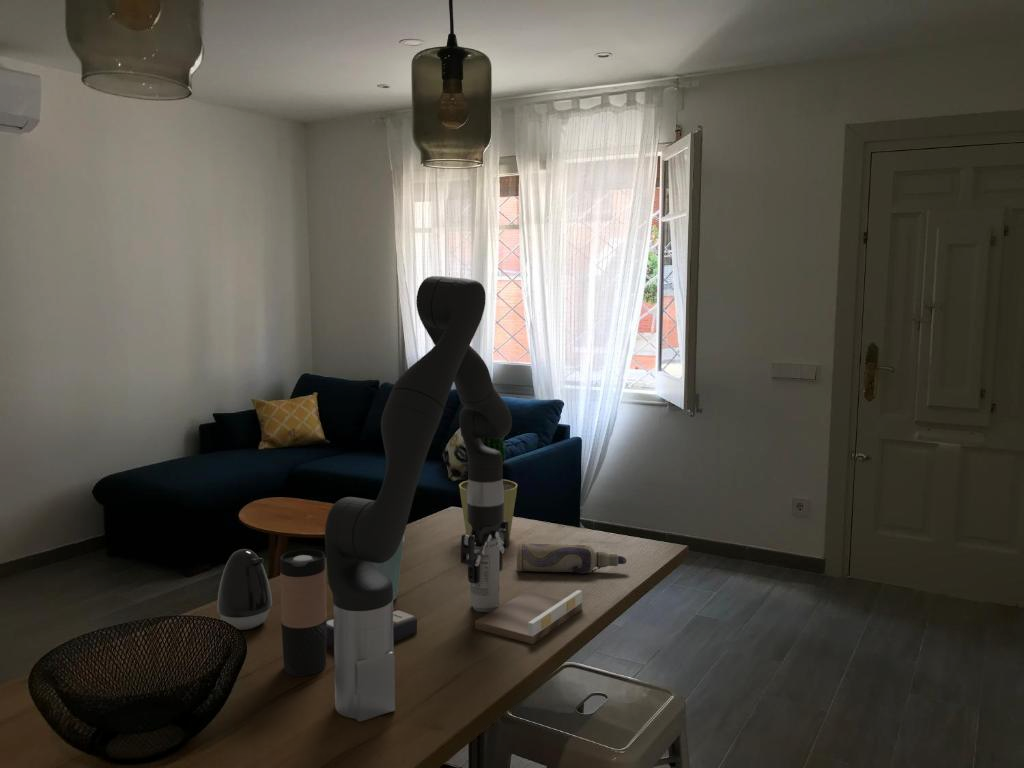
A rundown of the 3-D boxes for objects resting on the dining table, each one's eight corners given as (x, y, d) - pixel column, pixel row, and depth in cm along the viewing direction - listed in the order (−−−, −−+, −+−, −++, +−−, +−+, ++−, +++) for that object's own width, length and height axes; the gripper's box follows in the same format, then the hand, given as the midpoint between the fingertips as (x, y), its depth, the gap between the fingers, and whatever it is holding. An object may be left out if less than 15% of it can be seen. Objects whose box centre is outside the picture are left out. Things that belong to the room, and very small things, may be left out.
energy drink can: (505, 607, 170) (505, 537, 168) (483, 615, 166) (483, 543, 164) (486, 599, 174) (486, 531, 172) (464, 607, 170) (464, 537, 168)
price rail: (533, 636, 152) (533, 623, 152) (528, 635, 152) (528, 622, 152) (582, 602, 169) (583, 591, 168) (577, 601, 169) (577, 589, 169)
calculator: (418, 614, 157) (357, 635, 146) (417, 636, 157) (356, 659, 146) (380, 601, 164) (319, 620, 153) (379, 621, 164) (318, 642, 153)
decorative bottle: (515, 576, 189) (515, 548, 188) (517, 565, 196) (517, 538, 196) (627, 579, 187) (628, 550, 187) (625, 568, 195) (625, 541, 194)
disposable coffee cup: (395, 609, 168) (395, 539, 167) (346, 605, 170) (345, 535, 169) (412, 591, 179) (411, 524, 177) (365, 587, 181) (364, 521, 179)
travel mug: (309, 653, 148) (307, 546, 146) (336, 665, 143) (334, 555, 141) (273, 668, 142) (270, 556, 140) (300, 681, 137) (297, 566, 135)
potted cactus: (493, 527, 227) (493, 421, 224) (529, 540, 215) (530, 428, 212) (447, 538, 217) (447, 426, 214) (482, 552, 206) (483, 435, 202)
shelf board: (532, 644, 152) (532, 636, 152) (475, 628, 159) (475, 621, 159) (581, 609, 169) (582, 602, 169) (528, 596, 176) (528, 590, 176)
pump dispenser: (243, 640, 153) (240, 561, 152) (206, 628, 159) (203, 552, 157) (284, 621, 162) (282, 547, 160) (248, 610, 167) (246, 538, 166)
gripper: (480, 510, 159) (481, 590, 161) (519, 495, 171) (519, 569, 173) (450, 505, 163) (450, 583, 165) (489, 490, 175) (489, 563, 177)
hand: (485, 576), depth 169 cm, fingers open, 8 cm apart
